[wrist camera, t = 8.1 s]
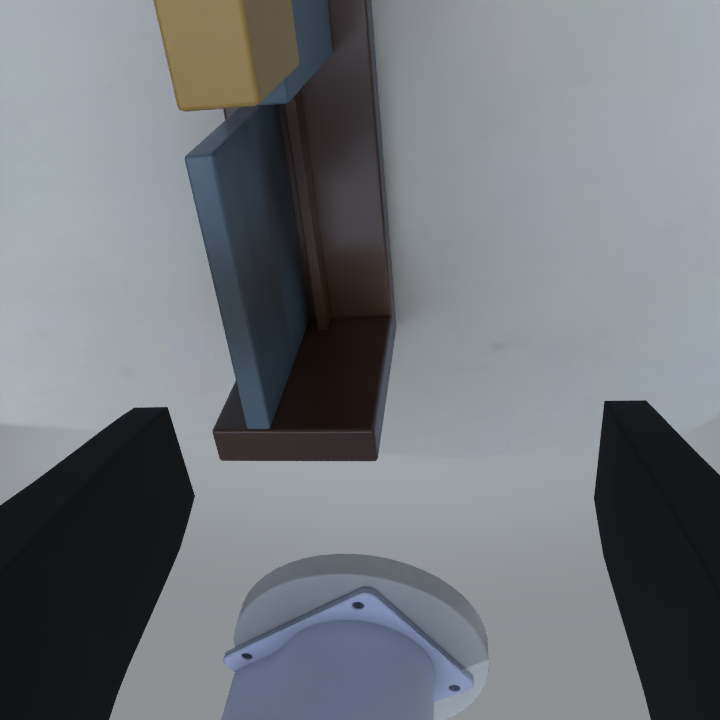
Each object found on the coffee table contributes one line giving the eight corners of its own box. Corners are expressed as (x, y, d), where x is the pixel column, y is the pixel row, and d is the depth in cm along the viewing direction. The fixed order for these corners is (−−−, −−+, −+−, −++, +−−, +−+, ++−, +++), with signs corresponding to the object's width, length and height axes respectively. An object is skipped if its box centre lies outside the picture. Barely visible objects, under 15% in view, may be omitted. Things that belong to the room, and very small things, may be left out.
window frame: (150, -343, 14) (-40, -504, 9) (341, -378, 13) (266, -573, 8) (275, 331, 23) (219, 462, 17) (396, 327, 22) (378, 462, 17)
